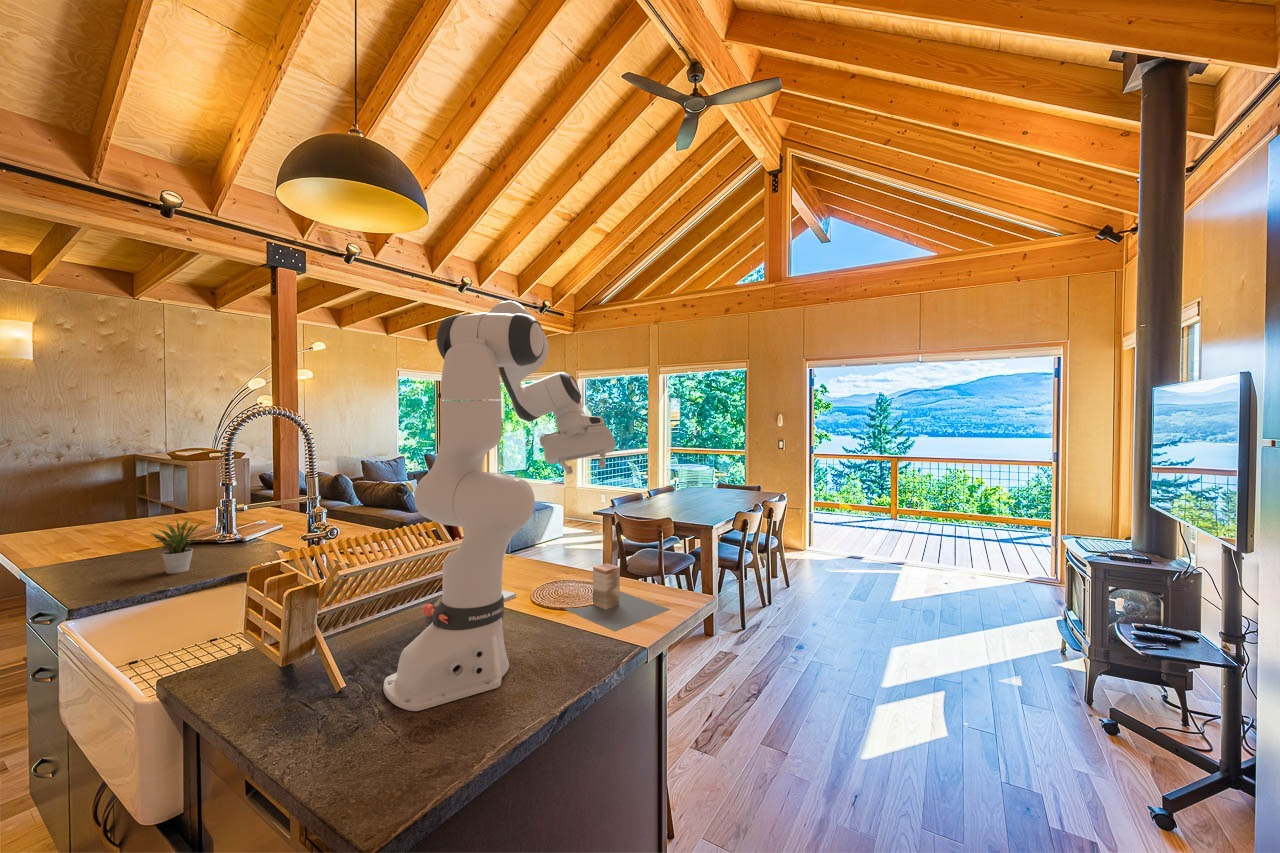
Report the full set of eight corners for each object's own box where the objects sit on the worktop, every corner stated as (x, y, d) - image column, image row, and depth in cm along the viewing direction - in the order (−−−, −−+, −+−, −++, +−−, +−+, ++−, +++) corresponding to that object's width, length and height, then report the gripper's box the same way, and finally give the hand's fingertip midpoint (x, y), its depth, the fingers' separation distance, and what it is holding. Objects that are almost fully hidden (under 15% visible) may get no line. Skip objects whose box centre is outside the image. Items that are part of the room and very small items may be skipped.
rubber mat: (614, 633, 118) (614, 631, 118) (564, 611, 131) (564, 609, 131) (670, 611, 133) (670, 609, 133) (619, 593, 146) (619, 591, 146)
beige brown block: (605, 609, 132) (605, 570, 131) (592, 604, 135) (593, 566, 135) (619, 604, 135) (619, 567, 135) (606, 599, 139) (607, 563, 138)
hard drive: (494, 587, 145) (459, 600, 134) (516, 593, 141) (482, 606, 130) (494, 593, 145) (459, 607, 135) (516, 599, 141) (482, 613, 131)
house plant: (203, 561, 169) (204, 512, 169) (218, 568, 162) (218, 517, 161) (144, 571, 158) (145, 518, 157) (157, 579, 150) (158, 524, 150)
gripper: (538, 428, 141) (550, 472, 135) (608, 416, 148) (622, 457, 142) (537, 440, 147) (548, 482, 140) (605, 428, 153) (618, 468, 147)
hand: (586, 470), depth 141 cm, fingers open, 8 cm apart
